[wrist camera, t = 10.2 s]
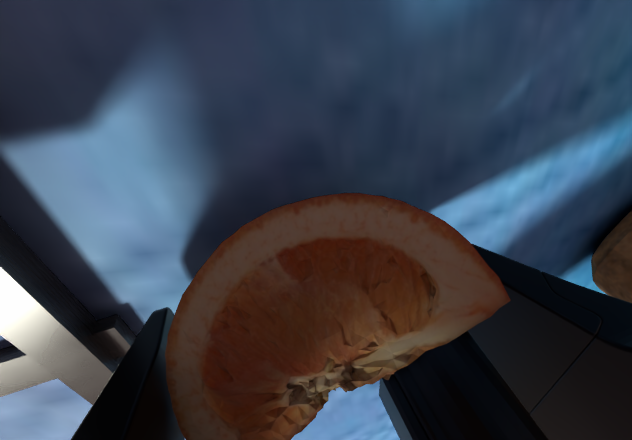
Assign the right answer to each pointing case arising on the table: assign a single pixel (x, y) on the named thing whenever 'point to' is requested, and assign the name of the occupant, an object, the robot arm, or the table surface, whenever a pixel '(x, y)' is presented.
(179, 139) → the table surface
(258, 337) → the fruit slice
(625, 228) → the bread
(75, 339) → the rail track
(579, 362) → the robot arm
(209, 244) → the table surface
